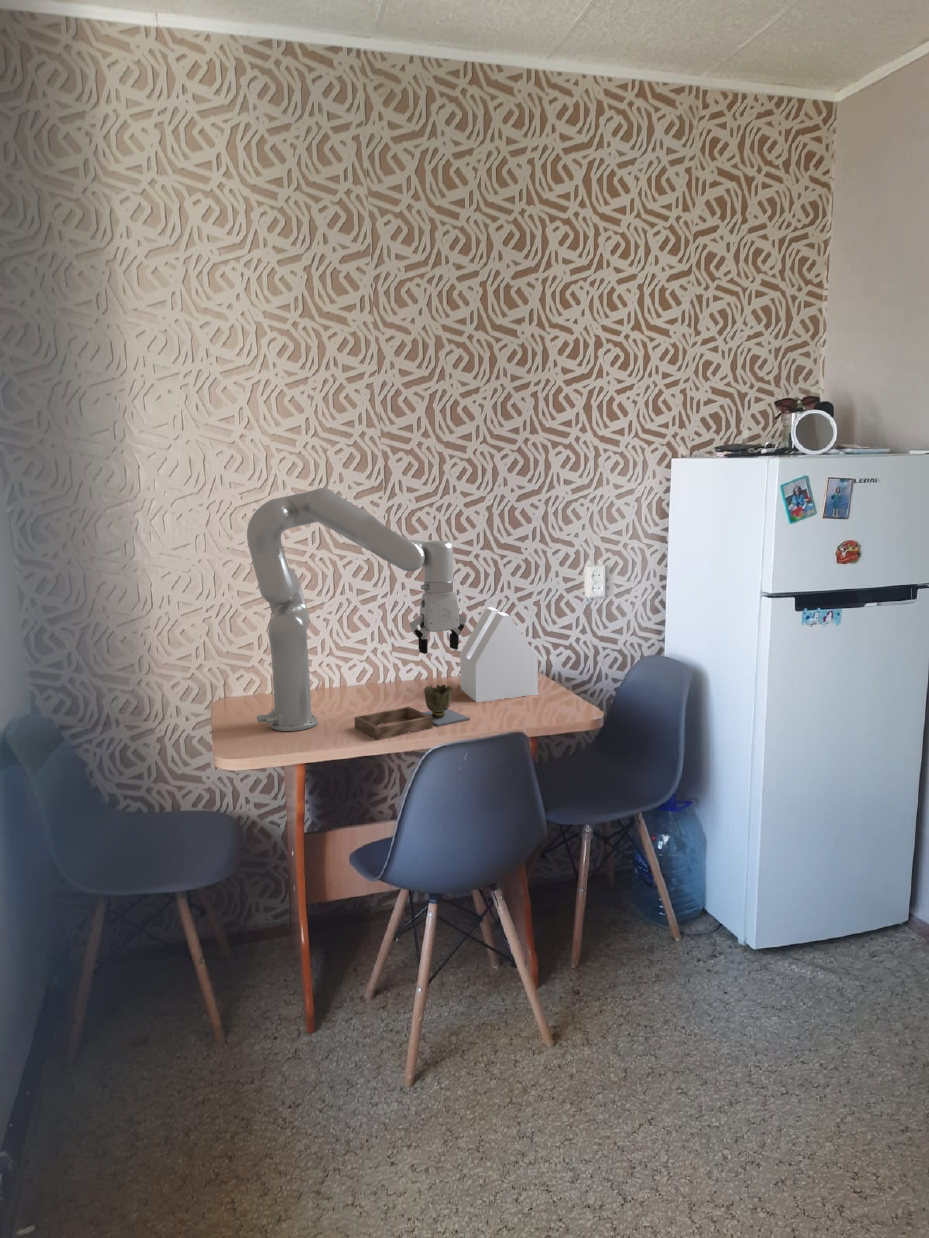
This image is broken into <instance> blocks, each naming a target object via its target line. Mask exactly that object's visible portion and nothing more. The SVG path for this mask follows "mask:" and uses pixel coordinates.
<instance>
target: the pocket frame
mask: <svg viewBox="0 0 929 1238" xmlns="http://www.w3.org/2000/svg"><path fill="white" fill-rule="evenodd" d="M402 719H405V720H402ZM408 719H409V720H408ZM398 720H400V722H398ZM393 721H395V722H396V723H395V722H393ZM386 722H390V723H391V724H390V723H388V724H387V723H386ZM381 723H385V724H386V725H384V724H383V725H382V724H381ZM378 724H380V725H378ZM354 728H355V730H357V729H358V731H359V730H360V731H359V732H361V731H362V732H361V733H363V732H364V734H365V733H366V734H365V735H367V734H368V735H367V736H369V737H371V736H372V737H374V738H375V739H374V738H373V739H374V740H376V739H380V740H382V739H381V738H385V737H389V736H394V737H397V736H396V735H399V736H401V735H400V734H403V735H405V734H404V733H408V732H412V733H416V731H417V732H420V731H419V730H422V731H425V730H424V729H426V730H430V729H433V728H434V727H433V718H432V717H431V716H429V715H427V714H424V713H422V711H419V710H417V709H415V708H413V707H410V706H405V707H399V708H395V709H390V710H385V711H379V712H374V713H370V714H369V713H368V714H365V715H364V714H363V715H359V716H355V717H354ZM408 734H409V733H408ZM372 737H371V738H372ZM389 738H390V737H389ZM385 739H386V738H385Z"/></svg>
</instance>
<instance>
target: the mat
mask: <svg viewBox="0 0 929 1238" xmlns="http://www.w3.org/2000/svg"><path fill="white" fill-rule="evenodd" d="M421 712H422V711H421ZM444 712H445V715H444V716H443V717H441V718H435V717H433V716H432V711H430V710H428V711H423V712H422V713H424V714H427V715H429V716H431V717H432V718H433V725H434V726H436V727H438V728H440V727H442V726H447V725H453V724H456V723H461V722H466V721H470V717H468V716H466V715H464V714H461V713H459V712H456V711H454V710H451V709H449V708H448V709H447V710H446V711H444Z"/></svg>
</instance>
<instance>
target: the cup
mask: <svg viewBox="0 0 929 1238" xmlns="http://www.w3.org/2000/svg"><path fill="white" fill-rule="evenodd" d="M423 691H424V693H423V694H424V698H425V704H426V707H427V709H428V711H432V716H433V717H435V718H441V717H443V716H444V715H445V712H444V711H446V710H447V709H449V708H450V704H451V698H452V697H451V695H452V687H451V686H449V685H447V686H446V685H445V684H442V685H440V684H437V685H436V687H433V686H432V685H429V686H425V687H424V688H423Z"/></svg>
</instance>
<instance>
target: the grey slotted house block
mask: <svg viewBox="0 0 929 1238" xmlns="http://www.w3.org/2000/svg"><path fill="white" fill-rule="evenodd" d="M459 659H460V660H459V662H460V663H459V664H460V666H459V667H460V668H459V669H460V671H459V672H460V690H461V691H462V692H463V691H464V692H463V693H464V694H466V695H467V696H469V697H470V698H471V699H472V700H473V701H474V702H475V703H481V702H482V703H483V702H491V701H500V700H499V699H502V700H505V699H504V698H511V699H516V698H515V697H521V696H526V695H538V696H539V687H538V686H539V674H538V673H539V663H538V661H539V657H538V656H537V655H536V654H535V652H534V650H533V649H532V646H531V645H530V644H529V643H528V641H527V640H526V638H525V636H524V635H523V634H522V631H521V630H520V629H519V627H518V625H517V623H516V622H515V621H514V619H513V618H512V616H511V615H510V614H508V613H506V612H503V611H502V612H500V610H499V609H497V608H495V607H492V606H491V607H486V608H485V609H484V611H483V612H482V615H481V616H480V617H479V619H478V621H477V623H476V625H475V627H474V628H473V630H472V632H471V634H470V635H469V637H468V639H467V640H466V642H465V644H464V646H463V648H462V649H461V651H460V652H459ZM521 698H522V697H521Z"/></svg>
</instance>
